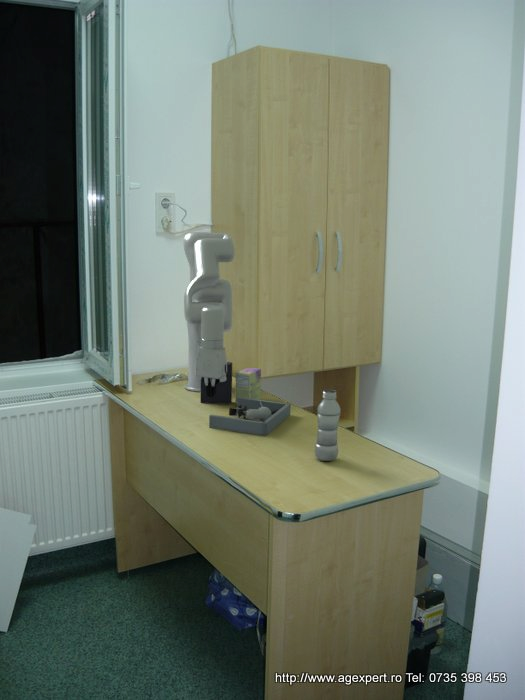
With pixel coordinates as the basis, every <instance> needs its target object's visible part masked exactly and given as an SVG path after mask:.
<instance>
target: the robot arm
mask: <svg viewBox="0 0 525 700" xmlns="http://www.w3.org/2000/svg"><path fill="white" fill-rule="evenodd" d="M183 250H184V254H185V257H186V259H187V262H188V265H189V284H187V287H186V289H185V291H184V295H183V308H184V309H183V310H184V319H185V321H186V325H187V326H186V327H187V335H188V337H187V338H188V362H187V363H188V364H187V365H188V372H187V375H188V376H187V377H188V379H187V381H188V382H186V383H184V385H183V386H184V389H185V390H187V391H190V392H199V393H201V379H202V380H203V381H204V383H205V385H206V394H207V397H211V398H212V397H213V396H215V394H216V385H217V384H218V383H219V382H225V381H226V380H227V378H226V375H227V362H228V360H227V351H226V348H225V347H224V333H227V332H229V331H231V330H232V327H233V289H232V284H231V282H230V281H229V280H227V279H223V278H220V277H221V275H220V266H219V265H220V263H231V262H233V260H234V258H235V253H236V252H235V245H234V241H233V239H232V238H231V235H230V234H229V233H227V232H209V231H208V232H207V231H206V232H205V231H204V232H201V231H199V232H198V231H196V232H195V231H194V232H190V233H187V234H185V236H184V237H183ZM211 378H212V383H211Z"/></svg>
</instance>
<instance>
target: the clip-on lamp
mask: <svg viewBox="0 0 525 700" xmlns="http://www.w3.org/2000/svg"><path fill="white" fill-rule="evenodd" d="M260 404H261V406H262V407H261V408H259V409H249V410H247V406H245V407H244V408H243V409H241V407H242V406H241V405H239V408H237V407H229V410H228V415H229V417H231V416H234V417H237V418H238V419H245V420H246V418H247V420H252V421H259V422H264V421H265V420H267V419H268V418H269V417H271V416H272V415H273V414H274V413H276V412H277V411H278V410H280V409H277V410H275V411H272V412H271V411H270V409H269V408H267V407H263V405H262V403H261V402H260Z"/></svg>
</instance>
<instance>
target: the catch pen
mask: <svg viewBox="0 0 525 700" xmlns="http://www.w3.org/2000/svg"><path fill="white" fill-rule="evenodd" d="M260 402H261V403H262V405H263V407H267V408H269V409H270V411H271V412H272V411H275V410H277V409H280V410H278V411H277V412H276V413H274V414H271V417H269V418H268V419H267V420H265V421H264V422H261V421H259V420H253V419H246V418H245V419H244V418H242V419H239V418H238V417H231V416H223V415H215V414H209V418H208V419H209V425H208V426H209V427H208V428H209V429H217V430H221V431H222V430H223V431H228V432H229V431H230V432H237V433H241V434H242V433H244V434H249V435H256V436H263V437H266V436H268V434H270V433H271V432H272V431H273V430H274V429H275V428H276V427H278V426H279V425H280V424H282V422H284V421H285V420H286V419H287V418H289V417H290V416H291V405H292V404H291V403H287V402H279V401H270V400H263V399H260V400H257V399H250V398H242V397H238V399H237V404H236V406H237V407H236V408H239V405H241V406H242V407H241V409H243V408H244V407H245V406H247V411H248V410H249V409H259V408H261V407H262V406H261V404H260Z"/></svg>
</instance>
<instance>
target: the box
mask: <svg viewBox="0 0 525 700" xmlns="http://www.w3.org/2000/svg"><path fill="white" fill-rule="evenodd" d="M261 384H262V369H261V368H257V367H246V368H244V369H241V370H239V371H237V372H235V394H234V395H235V396H234V397H235V400H234V402H235V405H237V399H238V397H242V398H250V399H257V400H262V399H261V392H262V391H261V390H262V388H261V386H262V385H261Z"/></svg>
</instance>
